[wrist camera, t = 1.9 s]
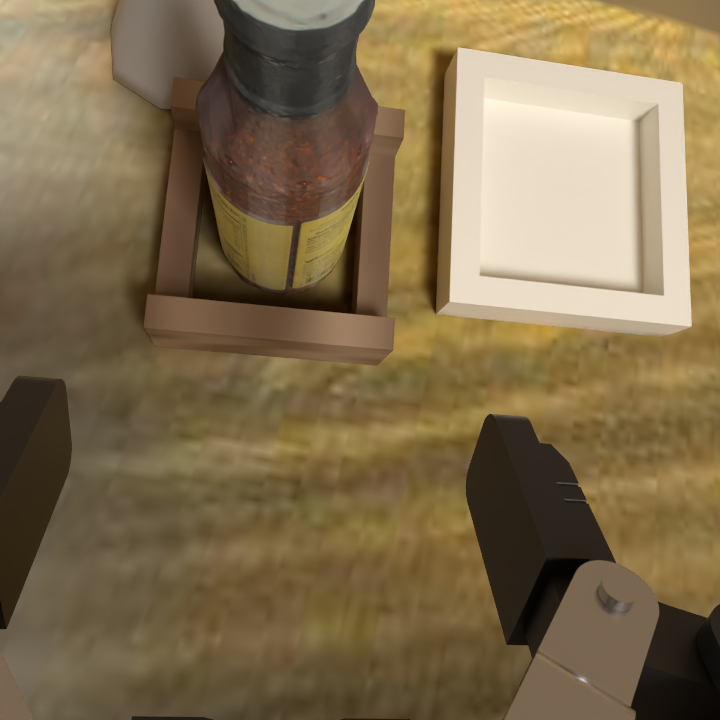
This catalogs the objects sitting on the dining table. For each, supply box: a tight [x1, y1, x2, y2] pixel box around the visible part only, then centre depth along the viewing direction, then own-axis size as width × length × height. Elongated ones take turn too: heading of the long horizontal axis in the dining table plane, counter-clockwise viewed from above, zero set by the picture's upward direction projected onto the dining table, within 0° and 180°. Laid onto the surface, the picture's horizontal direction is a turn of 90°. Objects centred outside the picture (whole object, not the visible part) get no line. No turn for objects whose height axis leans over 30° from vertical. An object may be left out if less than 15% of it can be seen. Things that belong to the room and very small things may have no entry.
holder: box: [143, 77, 405, 365], centre depth 33 cm, size 11×12×4 cm
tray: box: [436, 47, 691, 337], centre depth 37 cm, size 13×14×2 cm
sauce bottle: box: [195, 0, 378, 295], centre depth 26 cm, size 6×6×20 cm
